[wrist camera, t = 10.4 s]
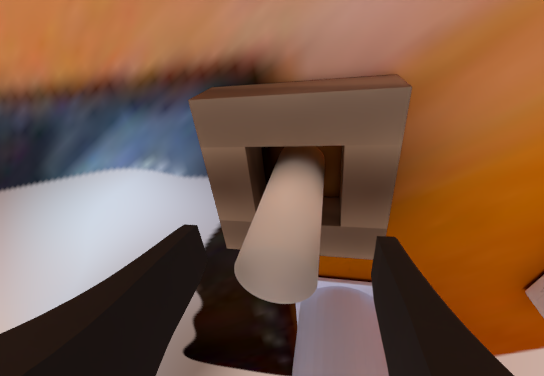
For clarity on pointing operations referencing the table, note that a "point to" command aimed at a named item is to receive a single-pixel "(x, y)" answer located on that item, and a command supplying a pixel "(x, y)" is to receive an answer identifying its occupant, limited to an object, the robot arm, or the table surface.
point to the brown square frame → (307, 132)
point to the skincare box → (537, 294)
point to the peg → (286, 230)
